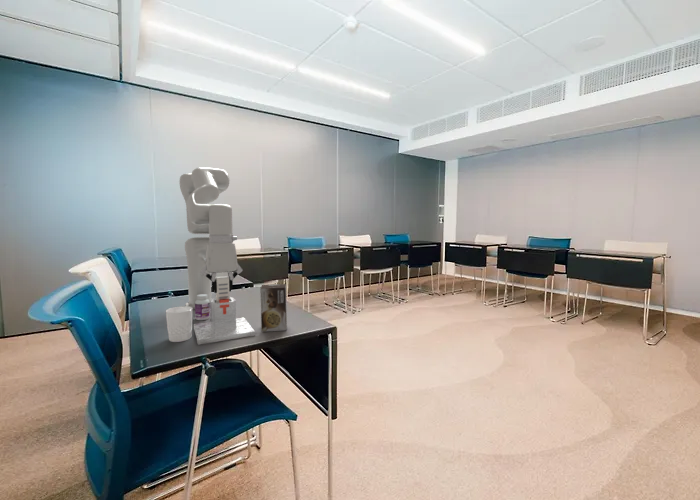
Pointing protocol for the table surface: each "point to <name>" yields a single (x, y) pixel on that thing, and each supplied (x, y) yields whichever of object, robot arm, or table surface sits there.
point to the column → (222, 288)
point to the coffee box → (273, 307)
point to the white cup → (179, 323)
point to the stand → (222, 323)
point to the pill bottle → (202, 307)
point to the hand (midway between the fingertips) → (222, 291)
